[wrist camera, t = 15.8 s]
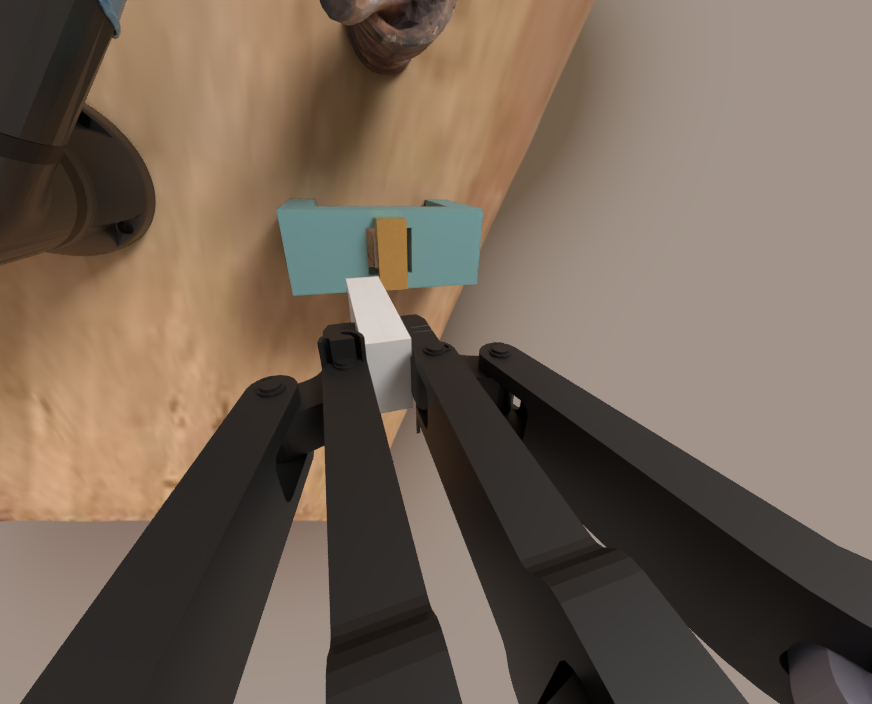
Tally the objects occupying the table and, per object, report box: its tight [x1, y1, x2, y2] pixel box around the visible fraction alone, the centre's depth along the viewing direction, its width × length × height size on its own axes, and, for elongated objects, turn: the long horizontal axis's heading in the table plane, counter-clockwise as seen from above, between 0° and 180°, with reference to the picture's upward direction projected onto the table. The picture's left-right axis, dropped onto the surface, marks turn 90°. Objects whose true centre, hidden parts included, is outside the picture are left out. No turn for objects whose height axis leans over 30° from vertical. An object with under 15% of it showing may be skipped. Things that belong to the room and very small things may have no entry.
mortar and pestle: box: [320, 0, 457, 74], centre depth 27 cm, size 12×9×20 cm
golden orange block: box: [366, 216, 408, 291], centre depth 38 cm, size 3×7×14 cm, turn 179°
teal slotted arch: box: [276, 199, 483, 296], centre depth 39 cm, size 20×8×12 cm, turn 89°
